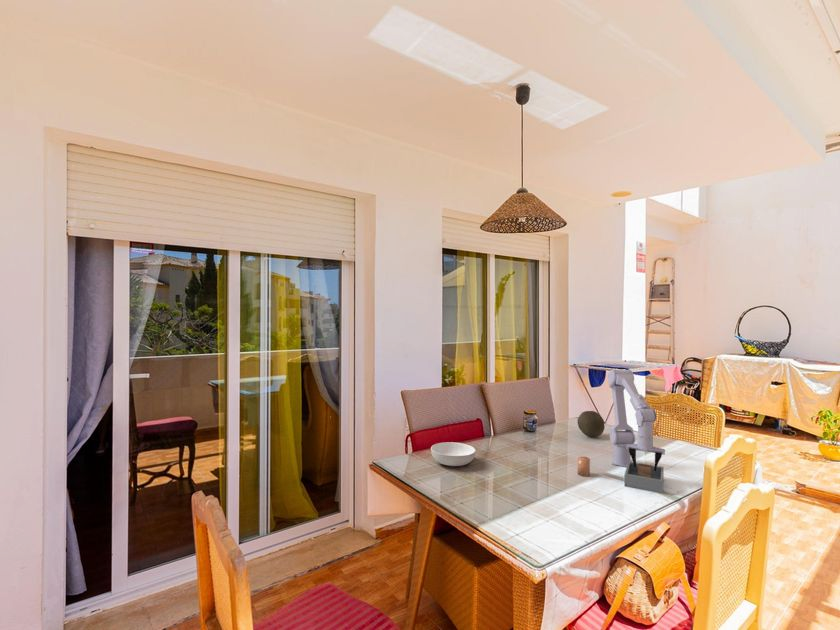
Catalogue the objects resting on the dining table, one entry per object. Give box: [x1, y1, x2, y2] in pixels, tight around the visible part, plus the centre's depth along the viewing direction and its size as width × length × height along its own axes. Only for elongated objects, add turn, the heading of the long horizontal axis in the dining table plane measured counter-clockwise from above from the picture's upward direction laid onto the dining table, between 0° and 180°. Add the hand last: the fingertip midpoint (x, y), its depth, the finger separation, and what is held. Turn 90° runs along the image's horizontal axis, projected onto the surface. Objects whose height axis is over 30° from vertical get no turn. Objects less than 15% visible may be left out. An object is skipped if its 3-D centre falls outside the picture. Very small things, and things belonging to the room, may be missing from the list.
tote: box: [624, 461, 665, 494], centre depth 180 cm, size 18×14×5 cm
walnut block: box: [638, 462, 653, 478], centre depth 183 cm, size 5×5×5 cm
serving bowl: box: [430, 441, 477, 467], centre depth 201 cm, size 21×21×7 cm
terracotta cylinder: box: [577, 456, 591, 478], centre depth 188 cm, size 5×5×7 cm
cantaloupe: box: [576, 410, 605, 438], centre depth 246 cm, size 14×14×15 cm
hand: (645, 468), depth 183 cm, fingers open, 7 cm apart
